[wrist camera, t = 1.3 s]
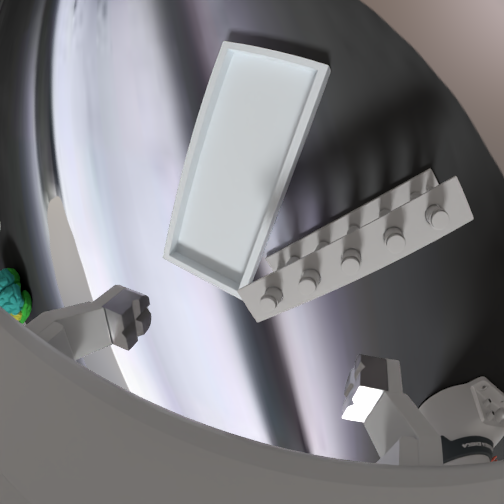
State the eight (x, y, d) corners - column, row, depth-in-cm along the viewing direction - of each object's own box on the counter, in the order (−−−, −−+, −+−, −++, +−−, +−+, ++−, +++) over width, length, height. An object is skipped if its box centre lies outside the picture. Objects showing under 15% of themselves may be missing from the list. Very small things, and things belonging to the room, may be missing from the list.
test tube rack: (429, 167, 30) (464, 176, 18) (444, 200, 30) (483, 225, 19) (266, 256, 42) (226, 299, 30) (283, 283, 42) (250, 334, 30)
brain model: (14, 249, 70) (-22, 266, 58) (41, 300, 72) (5, 322, 59) (9, 279, 83) (-20, 295, 70) (32, 322, 84) (4, 341, 71)
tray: (330, 71, 30) (328, 65, 28) (248, 292, 44) (241, 299, 42) (231, 46, 33) (223, 40, 31) (171, 252, 47) (162, 258, 45)
